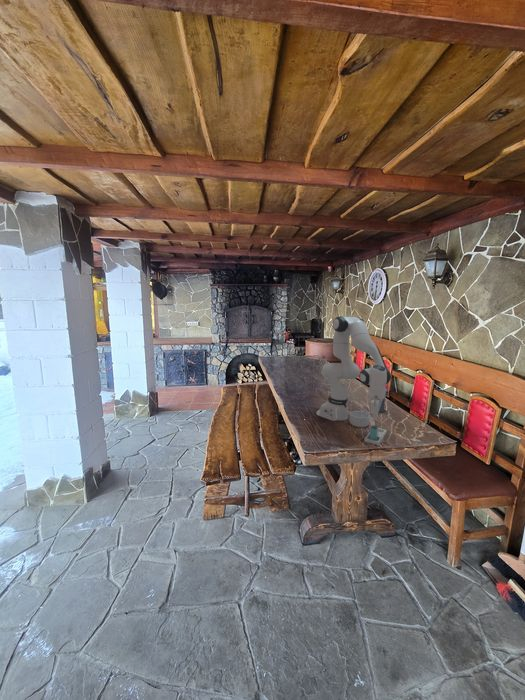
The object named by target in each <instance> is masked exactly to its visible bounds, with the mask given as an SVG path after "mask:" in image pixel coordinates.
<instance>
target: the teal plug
mask: <svg viewBox="0 0 525 700" xmlns="http://www.w3.org/2000/svg"><path fill="white" fill-rule="evenodd" d="M369 428H370V429H369V432H370V439H371V440H375V441H377V437H378V428H379V427H378V426H377V425H374V424H373V425H372V426H370V427H369Z"/></svg>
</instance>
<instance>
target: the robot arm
mask: <svg viewBox="0 0 525 700" xmlns="http://www.w3.org/2000/svg"><path fill="white" fill-rule="evenodd" d="M332 328H333V330H334V333H333V338H332V339H333V341H332V354H333V356H334V357H335V358H337V359H339V360H340V362H339V363H338V362H329V363H324V364H323V366H322V368H321V374H322V375H323V378H325V380H327V381H328V382H329V384H330V395H329V396H328V397H327V400H328V401H326V402H324V403H323V404H321V406H320V408H319V409H318V410H317V411H316V416H319V417H322V418H324V419H328V420H329V421H334V422H335V421H336V422H337V421H347V420H348V419H349V414H348V406H349V398H348V393H349V392H348V391H349V388H348V386H347V385H346V384H344V383H342V382H341V381H340V380H354V379H357V378H358V379H359V381H360V382H361V384H362V385H366V386H369V389H368V397H369V398H370V399H371V404H370V405H371V406H370V415H372V420H373V421H377V416H378V415H379V409H380V406H381V403H382V401H383V399H385V400H386V398H385V396H386V389H387V388H386V385H389V383H390V381H391V379H392V374H391V371H390V369H389V368H388V367H387V365H386V363H385V359H384V358H383V354H382V353H381V350H380V348H379V347H378V345H377V344H376V343H375V342H374V341H373V340H372V338H371V335H370V332H369V329H368V327H367V324H366V322H365V320H364V319H363V318H361V317H356V316H340V315H339V316H337V317H335V318H334V319H333V322H332ZM350 339H351V343H352V346H353V347H354V349H356V350H357V351H359V352H362V353H364V354H365V353H366V354H367V355H369V356H370V357H371V358H372V360H373V363H374V365H372V366H371V367H368V368H363V369H362V370H361V369H360V367H359V365H358V364H356V363H355V362H354V361H353V359H352V356H351V352H350ZM386 397H387V396H386Z"/></svg>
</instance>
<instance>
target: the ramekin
mask: <svg viewBox="0 0 525 700" xmlns="http://www.w3.org/2000/svg"><path fill="white" fill-rule="evenodd" d="M348 417H349V423H350V425H352V426H354V427H356V428H366V427H367V426H369V422H370V418H371V414H369V413H367V412H365V411H361V410H360V411H359V410H353V411H350V412H349V414H348Z"/></svg>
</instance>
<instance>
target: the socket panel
mask: <svg viewBox="0 0 525 700" xmlns="http://www.w3.org/2000/svg"><path fill="white" fill-rule="evenodd" d="M387 431H388V430H387V429H383V428H381V427H378V437H377V441H375V440H371V439H370V431H369V432H368V433H367V435H366V436H365V437H364V440H363V441H364V442H366V443H369V444H374V445H376V446H380V444H381V443H382V441H383V439H384V437H385V436H386V434H387Z"/></svg>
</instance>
